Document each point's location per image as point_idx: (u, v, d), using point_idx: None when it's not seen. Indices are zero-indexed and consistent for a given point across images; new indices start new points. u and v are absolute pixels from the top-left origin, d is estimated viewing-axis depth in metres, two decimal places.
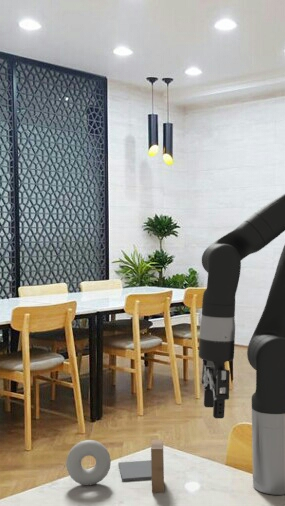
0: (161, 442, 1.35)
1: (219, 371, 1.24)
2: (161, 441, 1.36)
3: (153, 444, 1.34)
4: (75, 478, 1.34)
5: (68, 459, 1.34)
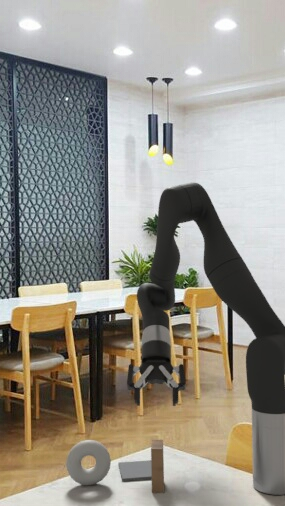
0: (161, 442, 1.35)
1: None
2: (161, 440, 1.36)
3: (153, 444, 1.34)
4: (75, 478, 1.34)
5: (68, 459, 1.34)
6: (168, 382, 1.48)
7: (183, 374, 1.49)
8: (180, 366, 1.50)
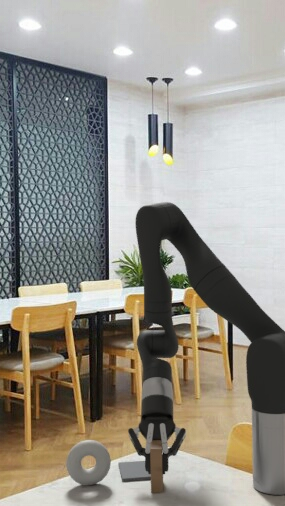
0: (160, 442, 1.35)
1: None
2: (160, 440, 1.36)
3: (152, 444, 1.34)
4: (75, 478, 1.34)
5: (68, 459, 1.34)
6: None
7: (179, 439, 1.35)
8: (181, 430, 1.37)
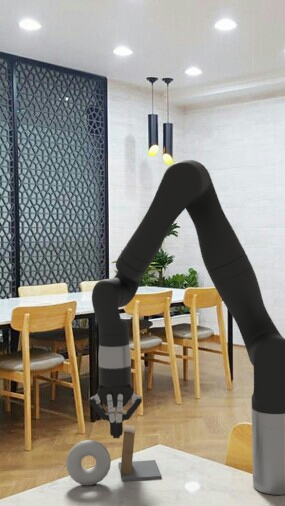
0: (133, 427, 1.44)
1: None
2: (133, 426, 1.44)
3: (126, 428, 1.42)
4: (75, 478, 1.34)
5: (68, 459, 1.34)
6: None
7: (134, 410, 1.41)
8: (138, 400, 1.41)
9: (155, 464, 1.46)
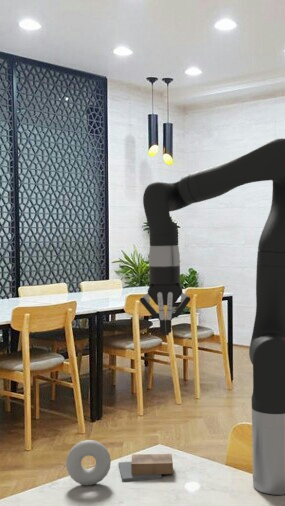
0: None
1: None
2: None
3: None
4: (75, 478, 1.34)
5: (68, 459, 1.34)
6: None
7: (183, 307, 1.48)
8: (186, 299, 1.47)
9: None
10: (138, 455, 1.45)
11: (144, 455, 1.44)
